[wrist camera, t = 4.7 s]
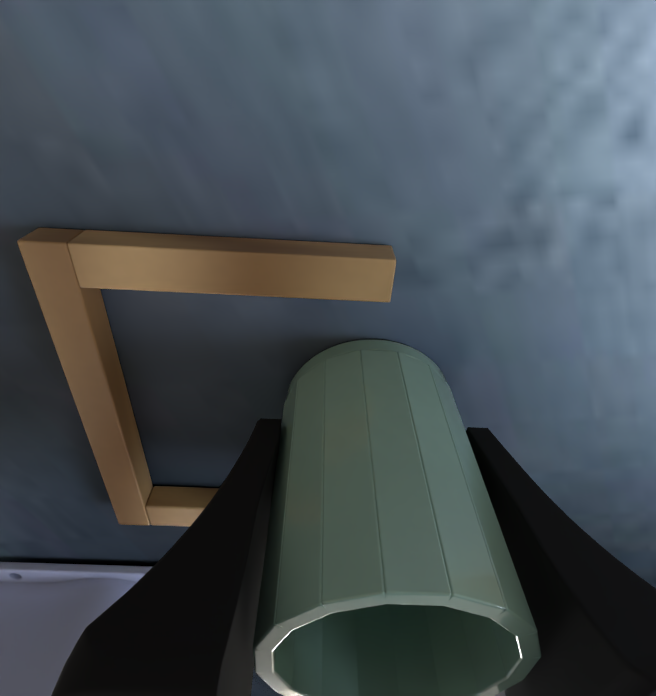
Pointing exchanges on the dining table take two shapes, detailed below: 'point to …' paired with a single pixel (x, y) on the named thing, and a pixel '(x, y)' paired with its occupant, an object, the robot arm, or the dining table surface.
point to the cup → (384, 541)
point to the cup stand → (169, 276)
